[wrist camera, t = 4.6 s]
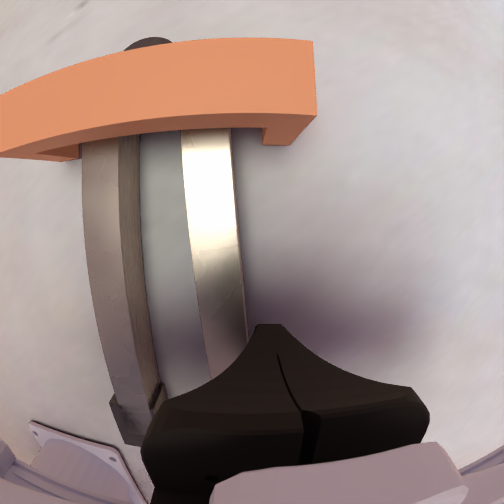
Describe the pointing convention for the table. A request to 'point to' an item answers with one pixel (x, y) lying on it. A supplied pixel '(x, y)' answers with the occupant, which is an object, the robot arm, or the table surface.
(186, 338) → the table surface
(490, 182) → the table surface
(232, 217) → the tong arm
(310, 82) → the orange bridge block
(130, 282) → the base
